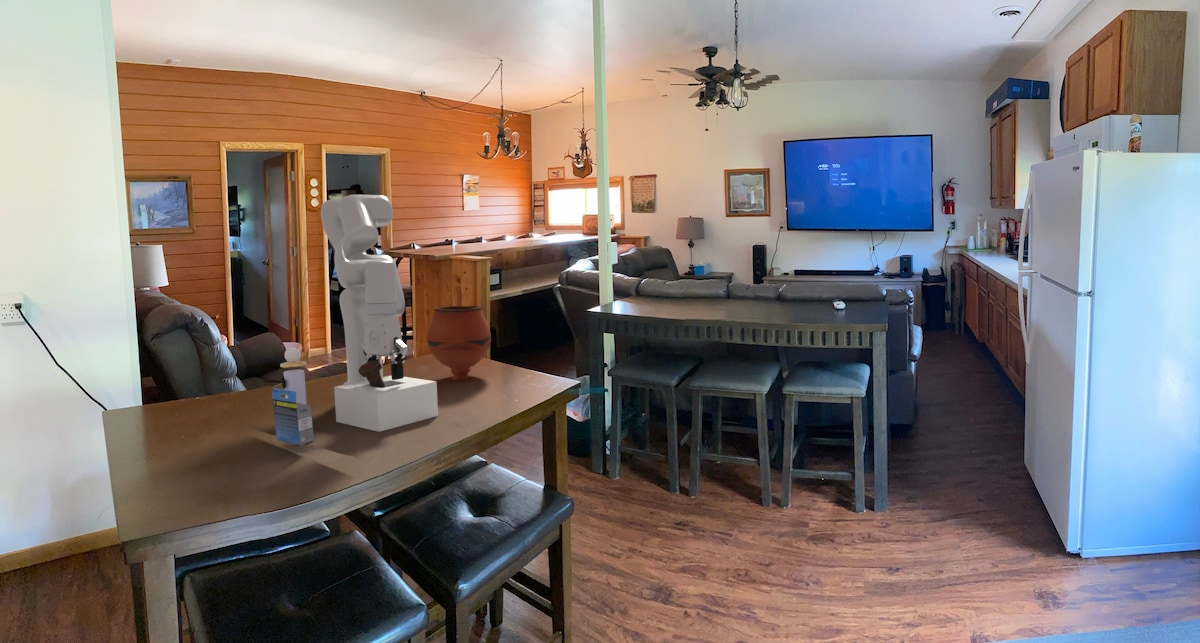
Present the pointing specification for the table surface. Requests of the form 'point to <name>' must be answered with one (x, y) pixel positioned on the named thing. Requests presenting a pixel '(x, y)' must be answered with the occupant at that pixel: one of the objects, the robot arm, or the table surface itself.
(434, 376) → the table surface
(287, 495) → the table surface
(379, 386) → the bolt
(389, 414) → the hitch block
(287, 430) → the label tape box
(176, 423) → the table surface
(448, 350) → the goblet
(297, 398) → the perfume bottle
